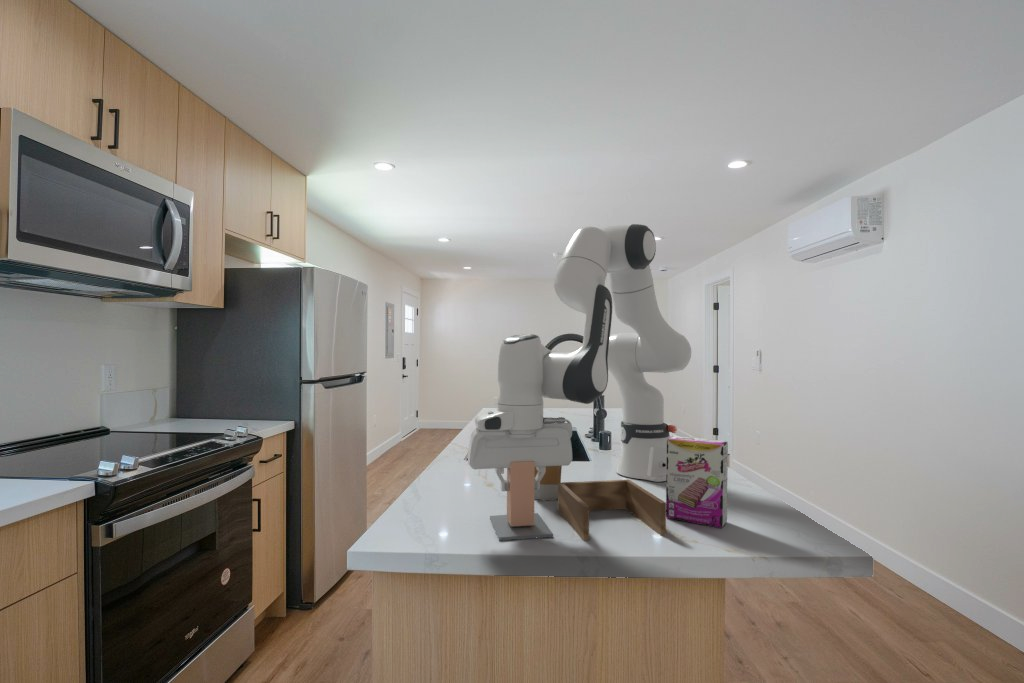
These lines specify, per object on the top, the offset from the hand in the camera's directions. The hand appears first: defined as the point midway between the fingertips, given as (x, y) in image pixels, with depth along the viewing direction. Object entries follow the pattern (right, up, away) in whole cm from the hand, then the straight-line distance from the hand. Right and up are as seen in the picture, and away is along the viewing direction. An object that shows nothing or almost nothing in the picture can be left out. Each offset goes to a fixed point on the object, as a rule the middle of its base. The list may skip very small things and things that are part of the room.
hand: (520, 489), depth 100 cm
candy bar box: (+36, -8, +5) cm, 37 cm away
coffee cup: (+6, -8, +20) cm, 23 cm away
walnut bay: (+18, -7, +3) cm, 19 cm away
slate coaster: (0, -7, 0) cm, 7 cm away
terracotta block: (0, -6, 0) cm, 6 cm away
